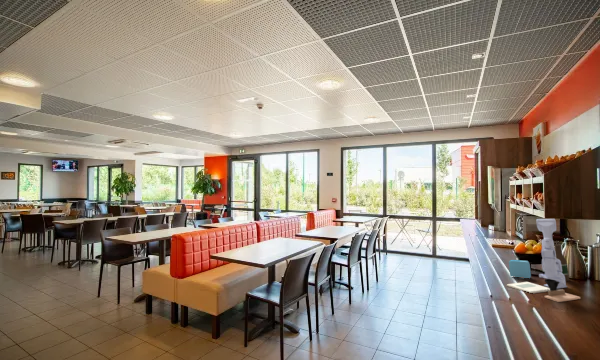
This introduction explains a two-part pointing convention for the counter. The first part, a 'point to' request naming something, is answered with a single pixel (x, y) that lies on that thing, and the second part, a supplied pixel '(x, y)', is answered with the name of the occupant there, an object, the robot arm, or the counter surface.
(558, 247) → the beer bottle
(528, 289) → the board
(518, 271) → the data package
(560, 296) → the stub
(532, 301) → the counter surface
